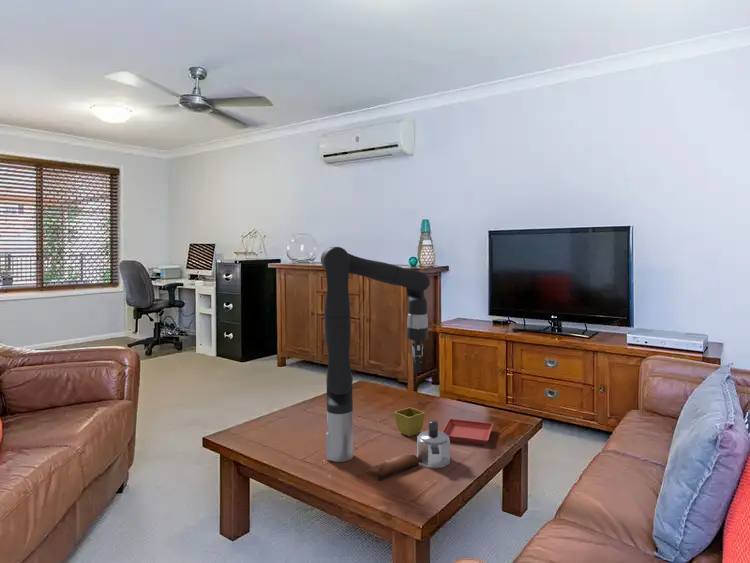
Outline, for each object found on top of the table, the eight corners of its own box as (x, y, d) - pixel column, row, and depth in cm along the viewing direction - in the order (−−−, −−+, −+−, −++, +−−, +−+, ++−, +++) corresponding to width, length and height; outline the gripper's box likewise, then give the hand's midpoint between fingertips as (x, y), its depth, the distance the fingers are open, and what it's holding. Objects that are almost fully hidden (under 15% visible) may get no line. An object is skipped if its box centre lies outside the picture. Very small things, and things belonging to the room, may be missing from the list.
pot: (419, 471, 168) (419, 448, 167) (415, 450, 185) (415, 429, 184) (452, 471, 168) (452, 448, 167) (445, 450, 185) (445, 429, 184)
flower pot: (408, 439, 195) (408, 417, 194) (394, 433, 202) (394, 411, 201) (424, 434, 201) (425, 412, 200) (409, 428, 207) (409, 406, 207)
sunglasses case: (402, 456, 179) (409, 444, 176) (414, 472, 175) (421, 459, 172) (363, 472, 168) (369, 458, 164) (375, 489, 163) (382, 476, 160)
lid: (420, 448, 171) (420, 427, 170) (417, 437, 181) (418, 416, 180) (449, 448, 171) (449, 427, 170) (445, 437, 181) (445, 416, 180)
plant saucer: (488, 448, 187) (488, 439, 187) (440, 442, 193) (440, 434, 193) (493, 431, 204) (493, 423, 204) (449, 426, 210) (449, 418, 210)
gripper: (406, 322, 191) (406, 364, 192) (408, 329, 176) (407, 374, 178) (426, 322, 190) (425, 364, 192) (429, 329, 176) (429, 374, 178)
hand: (417, 369), depth 185 cm, fingers open, 8 cm apart
